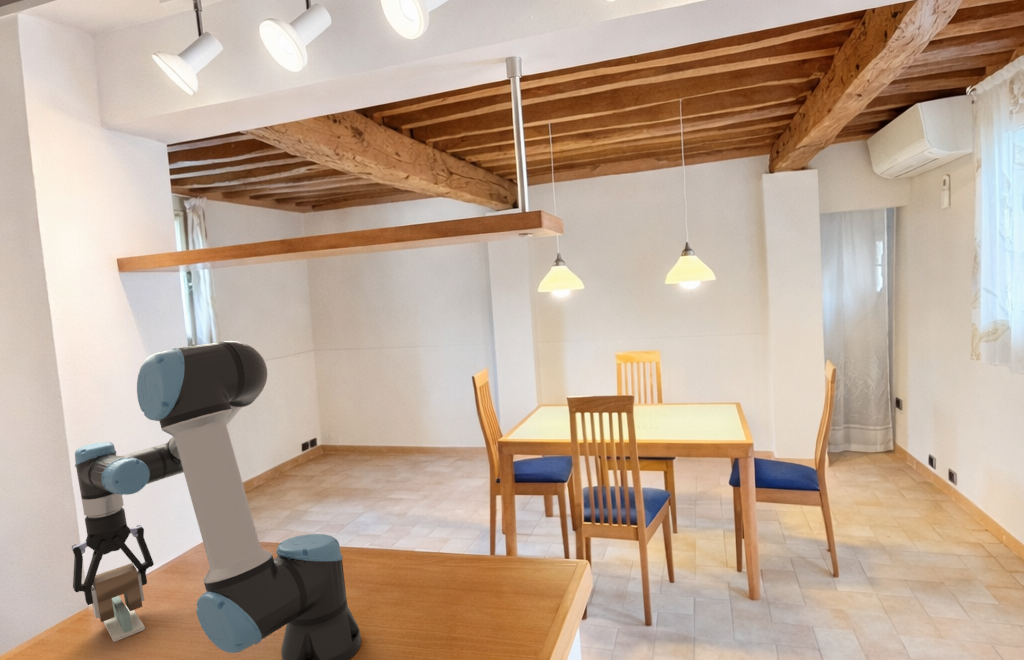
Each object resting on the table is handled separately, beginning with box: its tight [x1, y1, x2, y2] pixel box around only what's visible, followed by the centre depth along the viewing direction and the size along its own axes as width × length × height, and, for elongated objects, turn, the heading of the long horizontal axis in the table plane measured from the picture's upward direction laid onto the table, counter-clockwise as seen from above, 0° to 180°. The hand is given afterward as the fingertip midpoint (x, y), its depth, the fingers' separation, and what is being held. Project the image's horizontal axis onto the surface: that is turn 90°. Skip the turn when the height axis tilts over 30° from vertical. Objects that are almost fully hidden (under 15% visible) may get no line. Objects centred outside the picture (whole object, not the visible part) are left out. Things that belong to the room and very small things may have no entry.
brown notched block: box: [92, 562, 143, 623], centre depth 140 cm, size 5×8×9 cm, turn 133°
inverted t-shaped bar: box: [102, 595, 146, 643], centre depth 141 cm, size 15×6×5 cm, turn 43°
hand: (119, 607), depth 141 cm, fingers closed on brown notched block, 8 cm apart
